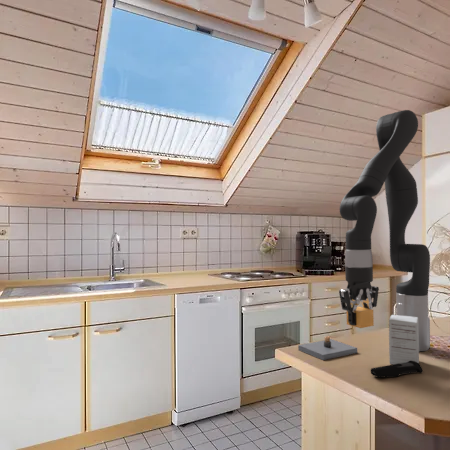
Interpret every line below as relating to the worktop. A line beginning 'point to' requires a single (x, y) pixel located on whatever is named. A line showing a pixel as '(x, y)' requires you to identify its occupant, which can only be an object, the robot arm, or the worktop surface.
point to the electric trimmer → (397, 369)
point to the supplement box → (403, 339)
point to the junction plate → (327, 349)
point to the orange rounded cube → (363, 317)
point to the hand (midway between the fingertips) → (359, 323)
